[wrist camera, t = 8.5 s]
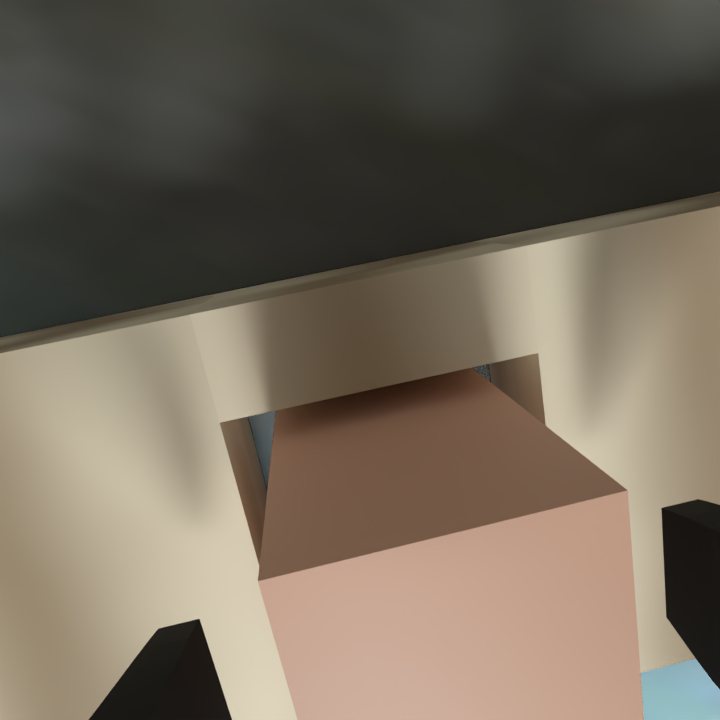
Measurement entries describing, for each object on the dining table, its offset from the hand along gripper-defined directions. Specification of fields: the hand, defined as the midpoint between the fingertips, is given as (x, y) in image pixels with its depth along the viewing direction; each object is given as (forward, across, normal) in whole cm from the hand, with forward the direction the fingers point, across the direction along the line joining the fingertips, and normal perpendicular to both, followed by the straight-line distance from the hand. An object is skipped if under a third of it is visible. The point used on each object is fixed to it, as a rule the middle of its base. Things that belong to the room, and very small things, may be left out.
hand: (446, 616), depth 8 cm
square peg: (+6, 0, 0) cm, 6 cm away
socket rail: (+6, 0, 0) cm, 6 cm away
